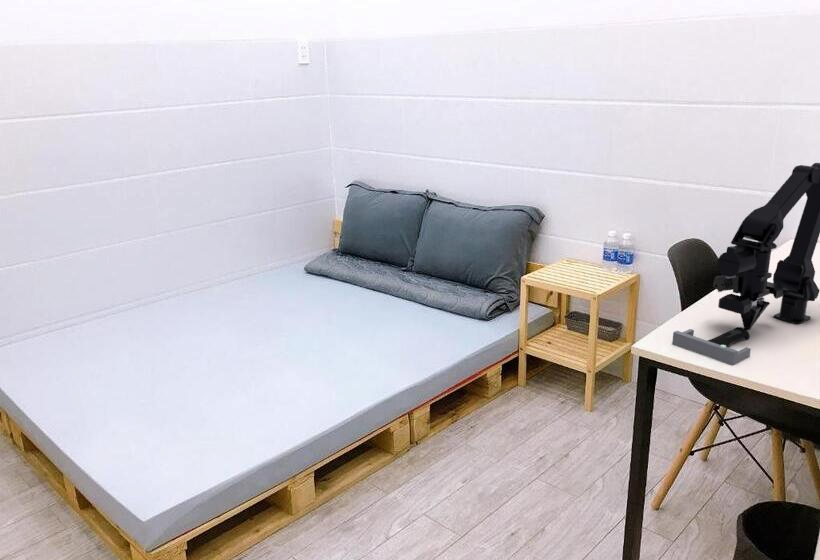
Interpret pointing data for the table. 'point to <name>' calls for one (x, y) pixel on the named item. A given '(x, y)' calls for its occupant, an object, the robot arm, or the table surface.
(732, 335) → the electric trimmer
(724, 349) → the charging dock
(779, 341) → the table surface
